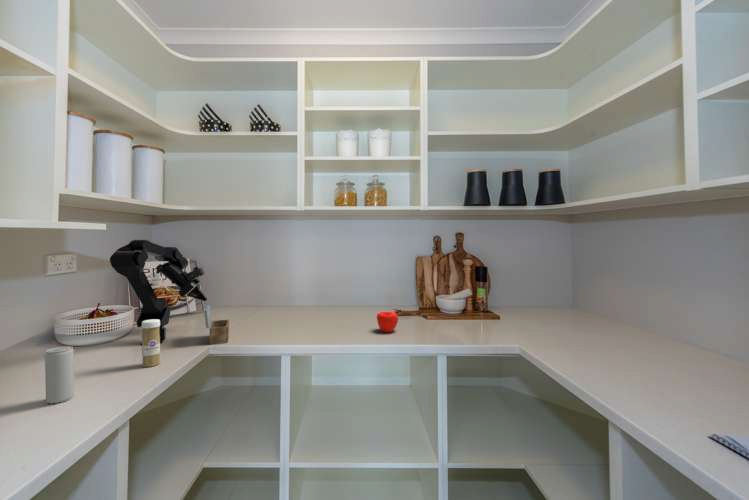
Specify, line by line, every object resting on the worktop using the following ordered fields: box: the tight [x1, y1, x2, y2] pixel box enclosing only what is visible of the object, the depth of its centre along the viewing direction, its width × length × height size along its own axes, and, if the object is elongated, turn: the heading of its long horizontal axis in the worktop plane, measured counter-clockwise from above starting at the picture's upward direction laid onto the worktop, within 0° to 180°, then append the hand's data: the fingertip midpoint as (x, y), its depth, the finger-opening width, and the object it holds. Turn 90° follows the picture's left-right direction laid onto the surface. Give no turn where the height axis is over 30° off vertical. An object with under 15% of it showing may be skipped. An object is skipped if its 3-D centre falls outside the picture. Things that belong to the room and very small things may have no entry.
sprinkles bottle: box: [141, 319, 161, 368], centre depth 97 cm, size 5×5×14 cm
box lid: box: [203, 304, 213, 329], centre depth 122 cm, size 6×13×1 cm
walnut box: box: [209, 319, 230, 345], centre depth 123 cm, size 6×12×6 cm, turn 22°
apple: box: [376, 311, 399, 333], centre depth 136 cm, size 9×9×8 cm
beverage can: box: [44, 345, 75, 404], centre depth 75 cm, size 5×5×12 cm
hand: (206, 300), depth 137 cm, fingers closed
